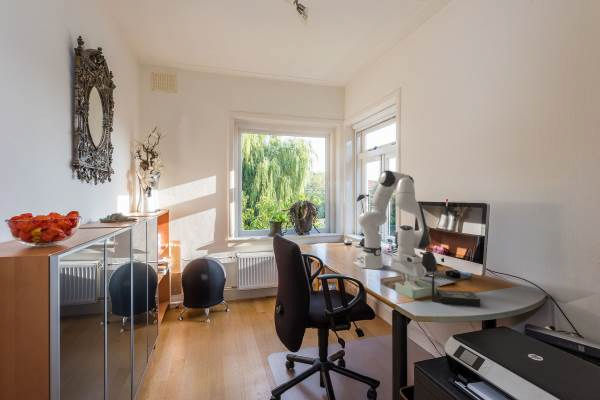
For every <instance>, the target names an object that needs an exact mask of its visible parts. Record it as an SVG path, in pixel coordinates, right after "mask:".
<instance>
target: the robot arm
mask: <svg viewBox="0 0 600 400" xmlns="http://www.w3.org/2000/svg"><path fill="white" fill-rule="evenodd" d="M378 178H379V179H378V181H379V183H378V185H377V187H376V189H375V191H374V194H373V196H372V199H371V204H372V205H371V206H372V207H371V210H370V211H369V210H368V211H365V212H362V213H361V214H359V215H358V223H359V225H360V226H361V227H362V230H363V234H364V235H363V236H364V237H363V238H364V246H362V251H361V252H359V253H358V254H357V256H356V260H354V261H353V264H354V265H356V266H358V267H359V268H360V269H361V268H362V269H371V270H379V269H383V268H384V266H385V265H384V263H383V262H384V261H383V255H382V243H381V242H382V239H381V238H382V236H381V234H380V232H379V229H378V227H380V226H383V225H384V224H385V223H386V222H387V219H388V217H387V210H388V206H389V203H390V201H391V198H392V196H393V194H394V192H395V196H394V197H395V199H394V200H395V204H396V206H397V207H398V209H400V210H402V211H404V212H406V213H410V214H411V215H413V216H414V217H415V218H416V220H417V224H418V230H414V227H413V226H410V225H408V224H407V225H401V226H399V227H398V228H397V232H395V234H394V237H395V238H394V243H395V245H396V246H397V250H396V251H397V252H394V253H392V254H391V260H390V269H391V270H394V271H396V272H400V276H401V277H402V278H403V281H409V278H410V276H413V277H416V278H420V277H422V276H423V265H422V263H421V262H422V261H423V259H422V257H421V256H419V255H418V254H417V253H416V252H415V249H421V250H425V249H427V248H428V247H430V245H431V237H430V236H431V235H430V233H429V230H428V226H427V222H426V217H425V213H424V209H423V206H422V205H421V203H419V202H418V201H417V199H416V192H415V180H414V178H413V177H412V176H410V175H409V174H405V173H402V172H399V171H398V172H397V171H392V170H387V169H386V170H384V171H382V172H381V173H380V175H379V177H378ZM405 274H406V276H407V277H406V276H405ZM420 279H421V278H420Z"/></svg>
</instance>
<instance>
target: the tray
mask: <svg viewBox="0 0 600 400" xmlns="http://www.w3.org/2000/svg"><path fill="white" fill-rule="evenodd" d="M416 282H417V286H419V287H422V288H419V289H411V288H409V287H406V286H404V285H401V284H399V283H395V290H394V291H395V292H396V293H398V294H400V295H402V296H405V297H407V298H408V299H412V300H413V301H414V300H417V299H423V298H429V297H432V282H431V283H430V282H428V281H425V280H421V279H417V281H416ZM437 289H438V285H436V284H434V296H437Z"/></svg>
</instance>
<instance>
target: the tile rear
mask: <svg viewBox="0 0 600 400" xmlns="http://www.w3.org/2000/svg"><path fill="white" fill-rule="evenodd" d="M404 286H406V287H409V288H412V287H418V286H417V285H416V284H415V282H414V281H413V280H409V281H405V282H404Z"/></svg>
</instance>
